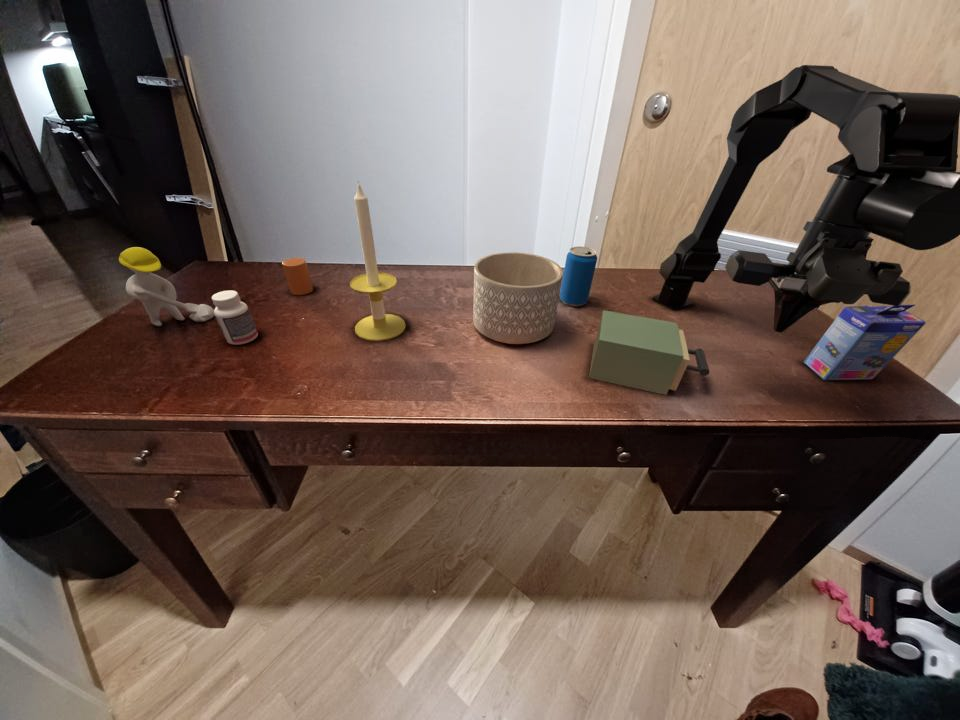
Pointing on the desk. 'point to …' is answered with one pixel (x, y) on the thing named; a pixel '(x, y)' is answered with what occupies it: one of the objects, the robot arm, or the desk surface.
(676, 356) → the cabinet
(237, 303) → the pill bottle
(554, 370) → the desk surface
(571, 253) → the beverage can
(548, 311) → the planter
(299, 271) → the orange cylinder
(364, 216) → the candle
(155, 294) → the figurine
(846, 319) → the ink cartridge box
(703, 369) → the drawer
